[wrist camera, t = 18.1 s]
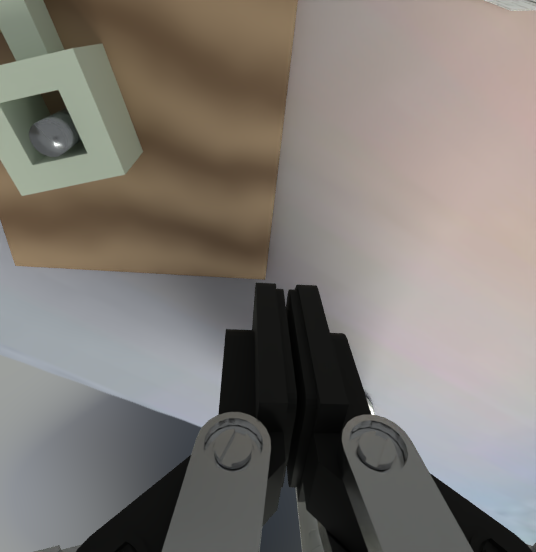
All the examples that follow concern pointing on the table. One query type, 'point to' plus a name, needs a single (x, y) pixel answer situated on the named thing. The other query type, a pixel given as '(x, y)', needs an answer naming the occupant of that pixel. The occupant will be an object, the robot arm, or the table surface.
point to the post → (54, 134)
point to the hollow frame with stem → (76, 95)
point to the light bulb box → (515, 4)
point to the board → (170, 141)
